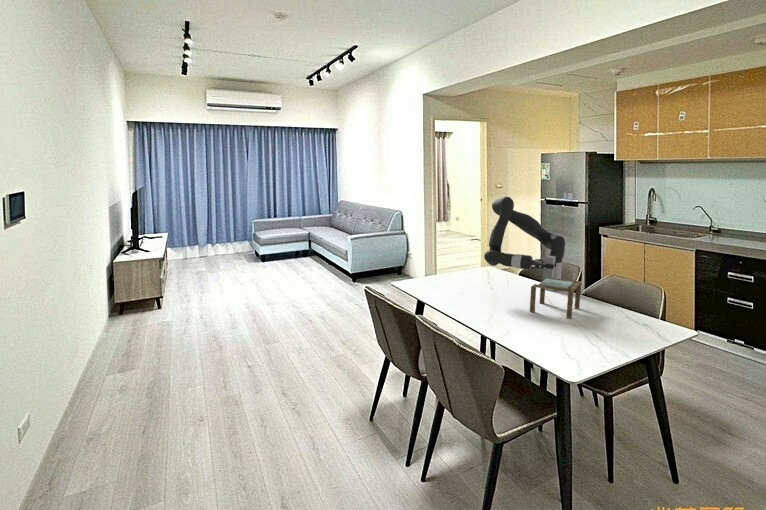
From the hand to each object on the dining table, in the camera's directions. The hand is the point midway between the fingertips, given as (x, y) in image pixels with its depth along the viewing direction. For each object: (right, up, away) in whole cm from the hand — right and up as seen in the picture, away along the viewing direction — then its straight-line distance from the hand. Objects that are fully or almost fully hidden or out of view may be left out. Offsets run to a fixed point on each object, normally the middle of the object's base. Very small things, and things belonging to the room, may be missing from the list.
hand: (554, 265), depth 236 cm
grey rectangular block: (-2, -6, +3) cm, 7 cm away
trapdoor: (+1, -10, +1) cm, 10 cm away
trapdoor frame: (+1, -23, +4) cm, 23 cm away
